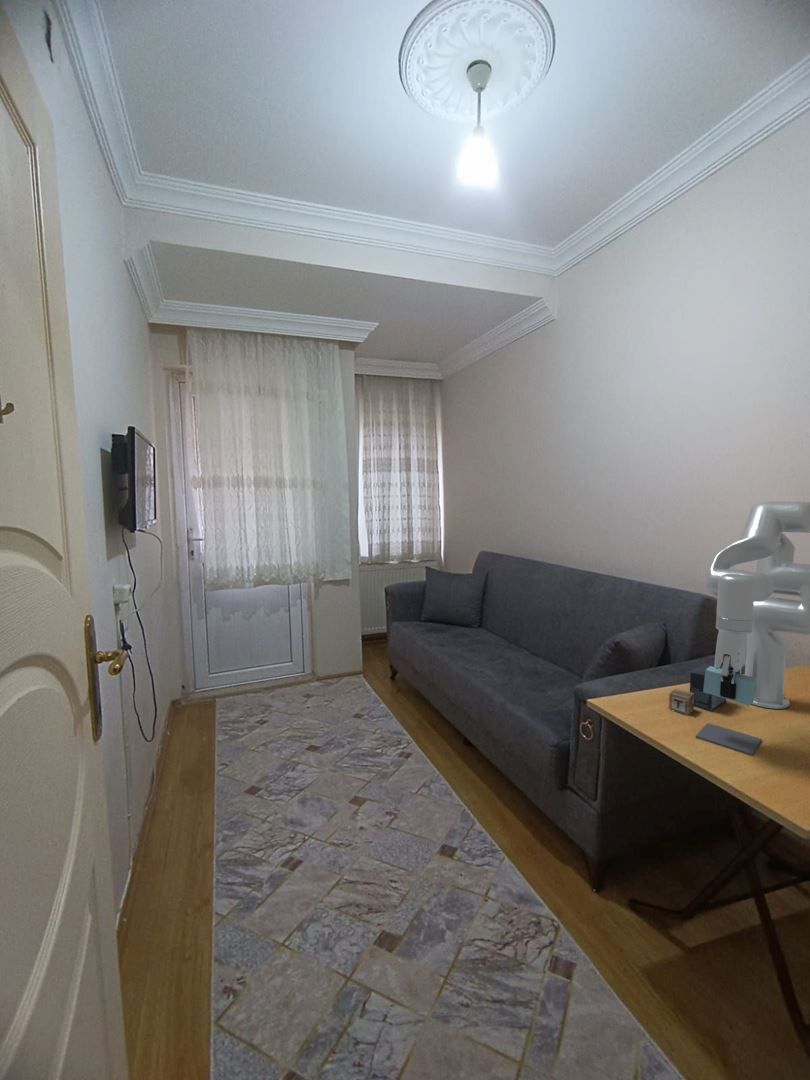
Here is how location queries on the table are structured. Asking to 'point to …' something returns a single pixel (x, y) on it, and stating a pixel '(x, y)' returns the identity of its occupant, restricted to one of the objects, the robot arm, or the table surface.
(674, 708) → the wooden letter block
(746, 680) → the teal rectangular block
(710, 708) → the small box
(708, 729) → the dark gray block
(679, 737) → the table surface
